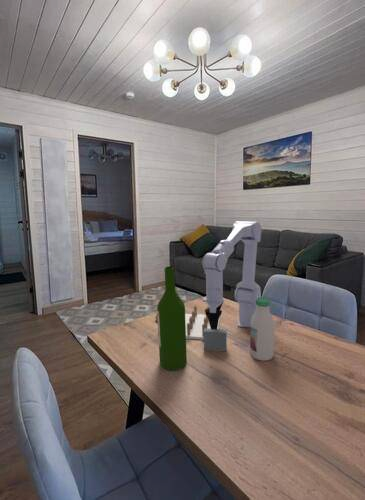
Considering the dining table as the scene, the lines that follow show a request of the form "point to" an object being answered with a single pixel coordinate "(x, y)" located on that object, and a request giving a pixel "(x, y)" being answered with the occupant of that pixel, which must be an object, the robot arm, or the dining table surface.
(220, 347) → the slate grey rectangular block
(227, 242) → the robot arm
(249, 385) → the dining table surface
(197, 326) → the peg rack
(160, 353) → the wine bottle
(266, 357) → the milk bottle
